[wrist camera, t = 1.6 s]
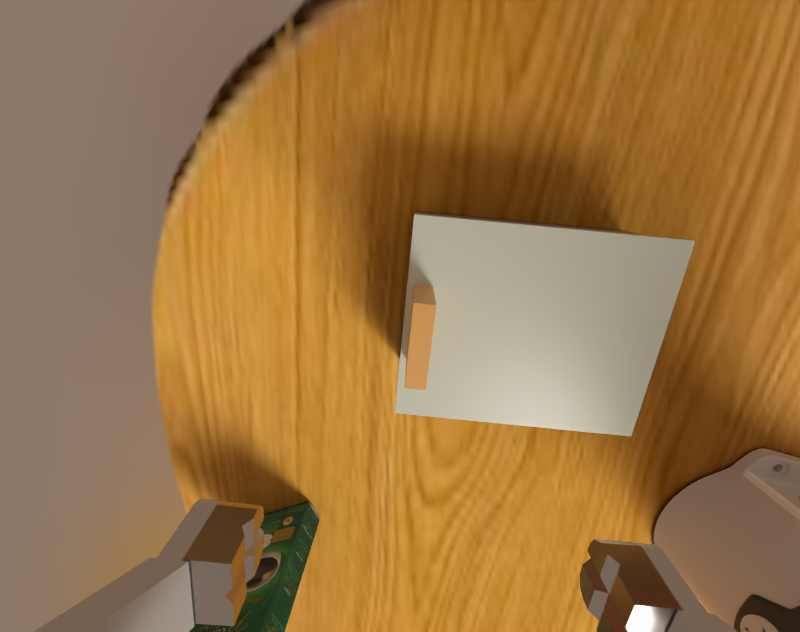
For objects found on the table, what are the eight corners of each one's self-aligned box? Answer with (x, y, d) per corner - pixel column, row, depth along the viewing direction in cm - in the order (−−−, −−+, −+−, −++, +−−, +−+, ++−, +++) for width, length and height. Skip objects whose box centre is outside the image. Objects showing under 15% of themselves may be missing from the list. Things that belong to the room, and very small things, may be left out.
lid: (675, 237, 24) (753, 251, 18) (618, 421, 28) (667, 477, 23) (414, 212, 24) (414, 219, 19) (395, 399, 28) (391, 450, 23)
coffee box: (254, 539, 41) (184, 689, 29) (241, 519, 41) (164, 665, 28) (321, 519, 40) (279, 668, 28) (309, 499, 39) (260, 641, 27)
